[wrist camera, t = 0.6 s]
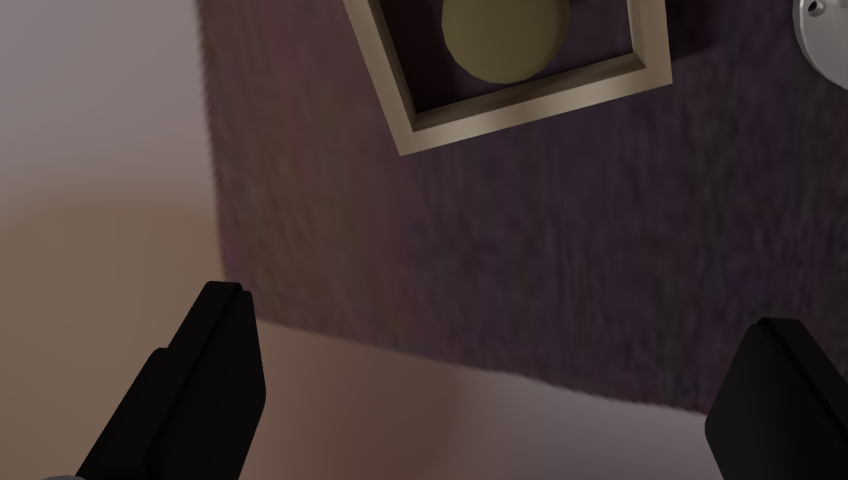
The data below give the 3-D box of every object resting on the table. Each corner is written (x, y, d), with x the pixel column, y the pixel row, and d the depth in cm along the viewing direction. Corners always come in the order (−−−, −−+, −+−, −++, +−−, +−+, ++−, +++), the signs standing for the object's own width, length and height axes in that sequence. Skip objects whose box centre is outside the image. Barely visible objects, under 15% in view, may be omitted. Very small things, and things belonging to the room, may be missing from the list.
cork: (480, -109, 30) (485, -96, 20) (576, -42, 31) (621, 0, 22) (420, -1, 33) (400, 54, 23) (510, 57, 34) (525, 130, 25)
